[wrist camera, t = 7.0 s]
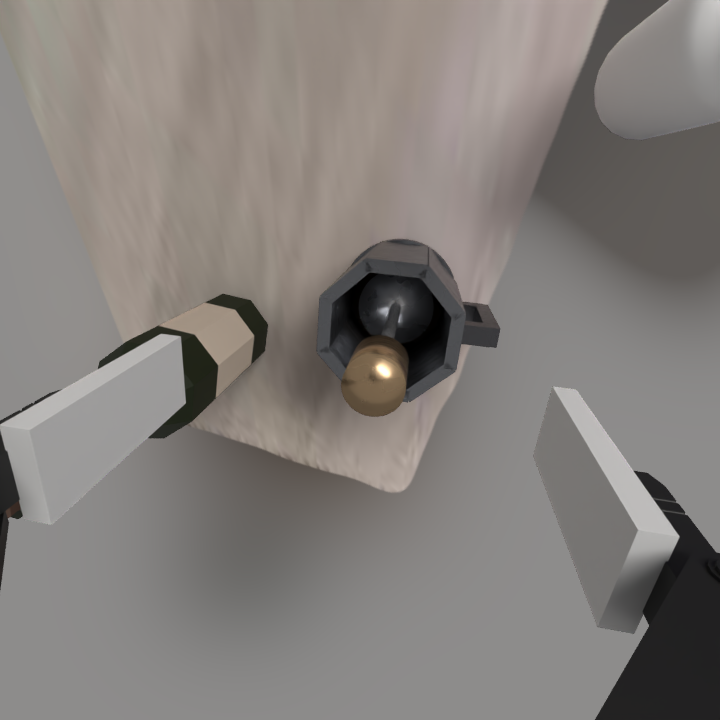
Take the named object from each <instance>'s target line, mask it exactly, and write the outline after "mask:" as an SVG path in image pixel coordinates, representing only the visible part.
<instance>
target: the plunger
mask: <svg viewBox="0 0 720 720" xmlns="http://www.w3.org/2000/svg"><path fill="white" fill-rule="evenodd" d="M433 311H434V303H433V296H432V293H431V291H430V289H429V288H428V287H427V285H426V284H425V283H424V282H423V280H422V279H421V278H415V277H406V276H398V275H389V274H380V273H379V274H377V275H376V276H374V277H373V278H372V279H371V280H370V281H369V282H368V283H367V284H366V286H365V287H364V289H363V291H362V293H361V295H360V299H359V315H360V318H361V321H362V323H363V325H364V327H365V328H366V329H367V331H368V332H369V333H370V334H371V335H373V336H370V337H368V338H366V339H364V340H363V341H361V342H360V343H359V344H358V346H357V347H356V349H355V351H354V353H353V355H352V357H351V359H350V362H349V364H348V366H347V368H346V370H345V372H344V374H343V377H342V381H341V389H342V394H343V396H344V399H345V400H346V402H347V403H348V404H349V406H350V407H351V408H353V409H354V410H355V411H357V412H359V413H361V414H363V415H367V416H373V417H377V416H384V415H387V414H389V413H391V412H393V411H394V410H396V409H397V408H398V407H399V406H400V404H401V403H402V401H403V399H404V396H405V392H406V383H407V375H408V366H409V359H408V355H407V352H406V350H405V348H404V347H403V346H402V345H401V344H402V343H407V342H410V341H412V340H414V339H416V338H417V337H419V336H420V335H421V334H423V332H424V331H425V330H426V329H427V328H428V326H429V324H430V322H431V320H432V317H433Z"/></svg>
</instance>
